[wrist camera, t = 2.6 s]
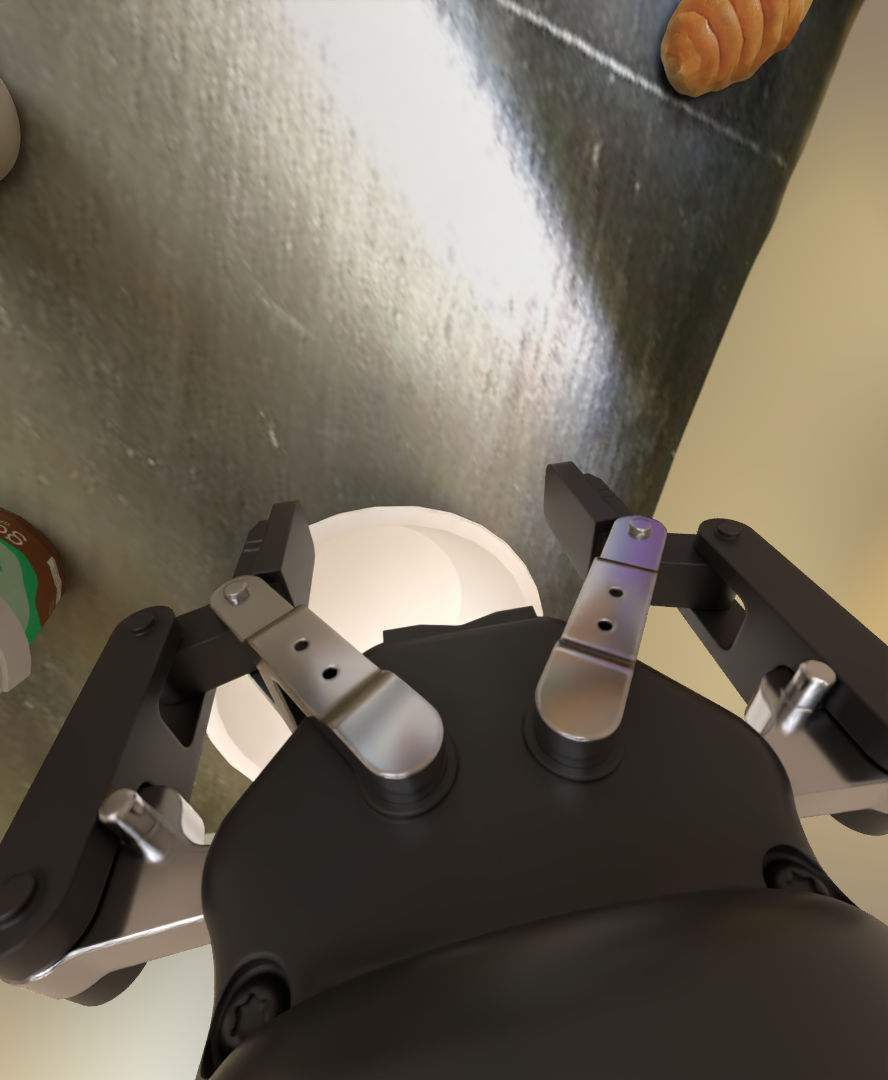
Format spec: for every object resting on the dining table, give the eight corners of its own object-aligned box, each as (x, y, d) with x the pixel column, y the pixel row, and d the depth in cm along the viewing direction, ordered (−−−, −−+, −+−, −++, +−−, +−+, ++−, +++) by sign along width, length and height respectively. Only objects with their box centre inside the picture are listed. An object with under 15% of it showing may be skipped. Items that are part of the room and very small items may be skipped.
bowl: (469, 709, 44) (506, 781, 36) (213, 731, 36) (193, 828, 28) (523, 487, 36) (583, 521, 29) (215, 453, 28) (190, 488, 21)
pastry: (676, 139, 30) (724, 111, 27) (635, 19, 27) (685, -29, 23) (782, 41, 30) (845, 1, 26) (754, -91, 27) (821, -157, 23)
